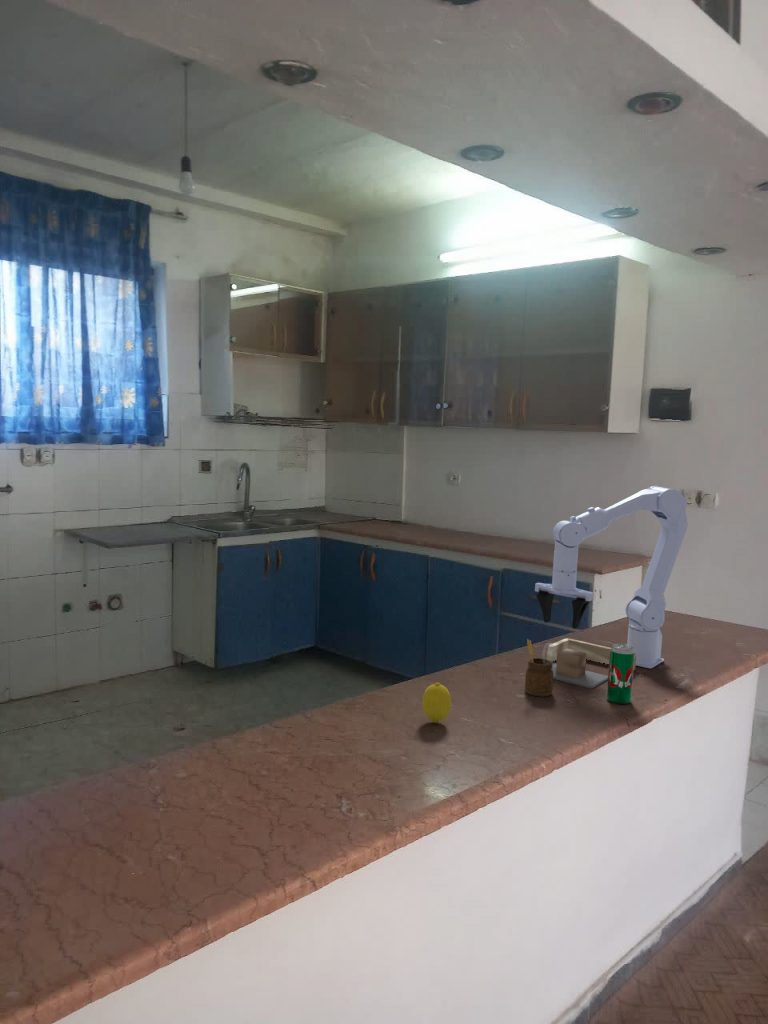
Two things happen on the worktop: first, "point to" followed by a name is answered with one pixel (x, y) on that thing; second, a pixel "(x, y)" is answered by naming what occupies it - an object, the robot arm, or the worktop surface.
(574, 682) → the rubber mat
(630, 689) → the soda can
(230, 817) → the worktop surface
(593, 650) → the beige angled piece
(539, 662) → the utensil holder
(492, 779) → the worktop surface
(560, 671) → the wooden cube
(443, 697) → the lemon
